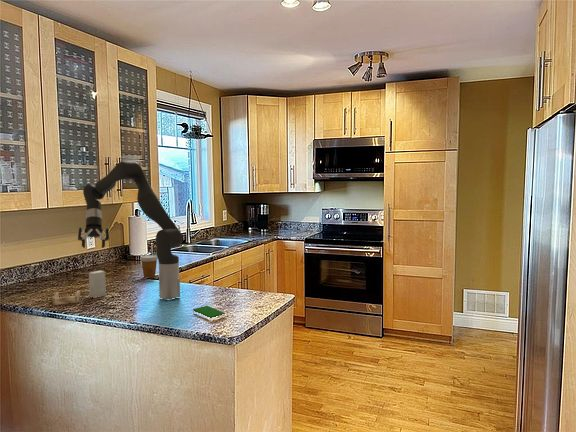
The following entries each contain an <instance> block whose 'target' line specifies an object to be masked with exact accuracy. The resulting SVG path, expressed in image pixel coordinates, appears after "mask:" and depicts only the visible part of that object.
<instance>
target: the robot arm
mask: <svg viewBox="0 0 576 432" xmlns="http://www.w3.org/2000/svg"><path fill="white" fill-rule="evenodd" d="M122 180H123V181H124V180H125V181H128V180H129V181H131V180H132V181H133V182H134V183H135V185H136V187H137V190H138V191H137V197H136V198H137V199H136V201H137V204H138V207H139V208H140V209H141V210H142V213H143V214H144V215H145V216H147V217H148V218H149V219H150V220H152V221H153V222H155V223H156V224H157V225H158V226H159V227H160V228H161V229H160V230H158V231H157V233H156V235H155V248H156V256H157V258H158V259H157V261H158V287H159V288H158V289H159V290H158V291H159V292H158V293H159V294H158V296H159V297H160V298H162V299H172V298H176V297H180V298H181V282H180V281H181V279H180V262H179V261H180V258H179V255H176V254H173V253H172V249H173V248H178V247H181V245H182V243H183V235H182V233H181V231H180V229H179V228H178V227H177V226H176V224H175V222H174V221H173V220H172V218H171V217H170V216H169V214H168V212H166V209H165V208H164V207H163V205H162V203H161V201H160V199H159V198H158V196H157V195H156V194H155V192H154V190H153V188H152V186H151V184H150V182H149V181H148V179H147V177H146V174H145V173H144V170H143V168H142V166H141V165H140V164H139V162H137V161H133V160H124V161H120V162H118V163H117V164H116V165H115V166H114V167H113V168H112V169H111V170H110V171H109V173H107V175H105V176H104V177H103V178H101V179H100V180H98V181H97V182H96V183H95V184H90V183H88V184H85V186H84V187H83V191H82V193H83V194H82V195H83V197H84V200H85V204H86V213H85V228H82V227H79V228H78V234H77V235H78V236H77V240H78V241H81V247H82V248H83V249H85V247H86V240H88V238H99V240H101V249H104V248H105V247H106V242H107V241H109V240H110V231H109V228H104V229H103V227H102V226H103V220H102V219H103V213H102V202H101V201H100V200H102V199H104V198H105V196H106V194H107V193H108V192H109V191H111V190H113V189H114V188H115V187H116V185H117V182H119V181H122ZM83 233H85V234H84V235H83V236H82V234H83ZM103 233H104V234H105V237H104V235H103Z"/></svg>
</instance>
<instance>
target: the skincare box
mask: <svg viewBox="0 0 576 432" xmlns="http://www.w3.org/2000/svg"><path fill="white" fill-rule="evenodd" d="M88 282H89V283H88V284H89V297H90V298H92V297H93V299H97V297H98V298H100V297H104V296H107V289H106V288H107V287H106V272H105V270H94V271H91V272H88Z"/></svg>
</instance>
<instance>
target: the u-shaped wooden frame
mask: <svg viewBox="0 0 576 432" xmlns="http://www.w3.org/2000/svg"><path fill="white" fill-rule="evenodd" d="M59 296H60V294H59V291H56V292H55V293H54V295H53V297H52V300H51V301H52V305H53V306H58V305H69V303H70V304H79V303H78V302H79V300H80V298H79V297H81V290H80V289H79V290H77V291H76V293H75V295H72V296H71V295H70V296H61V297H59Z"/></svg>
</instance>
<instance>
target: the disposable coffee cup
mask: <svg viewBox="0 0 576 432" xmlns="http://www.w3.org/2000/svg"><path fill="white" fill-rule="evenodd" d="M139 260H140V263H141V268H142V269H141V270H142V273H143V278H145V279H152V278H153V279H154V278H156V273H157V263H158V262H157V261H158V257H157V254H145V255H142V256H141V257H140V259H139Z"/></svg>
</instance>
